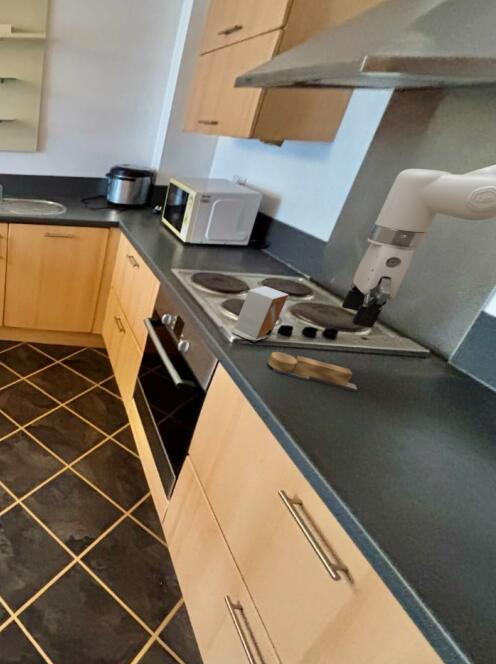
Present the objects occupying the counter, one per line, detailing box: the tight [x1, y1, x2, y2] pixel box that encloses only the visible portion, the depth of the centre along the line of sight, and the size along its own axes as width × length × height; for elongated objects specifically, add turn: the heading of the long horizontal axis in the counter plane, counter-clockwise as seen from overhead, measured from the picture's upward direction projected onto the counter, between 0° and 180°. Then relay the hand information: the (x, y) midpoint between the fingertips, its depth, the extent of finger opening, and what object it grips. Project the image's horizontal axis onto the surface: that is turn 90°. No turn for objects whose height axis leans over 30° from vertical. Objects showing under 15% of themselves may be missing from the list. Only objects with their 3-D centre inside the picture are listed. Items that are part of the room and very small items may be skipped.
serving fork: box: [271, 367, 358, 393], centre depth 95 cm, size 16×5×1 cm, turn 61°
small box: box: [233, 285, 289, 339], centre depth 110 cm, size 8×6×13 cm
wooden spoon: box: [267, 351, 353, 386], centre depth 95 cm, size 15×5×3 cm, turn 61°
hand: (355, 316), depth 87 cm, fingers open, 9 cm apart
